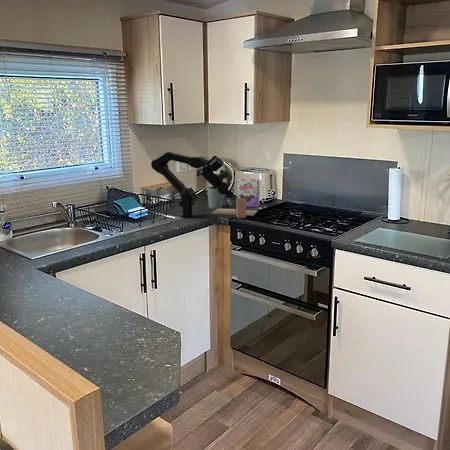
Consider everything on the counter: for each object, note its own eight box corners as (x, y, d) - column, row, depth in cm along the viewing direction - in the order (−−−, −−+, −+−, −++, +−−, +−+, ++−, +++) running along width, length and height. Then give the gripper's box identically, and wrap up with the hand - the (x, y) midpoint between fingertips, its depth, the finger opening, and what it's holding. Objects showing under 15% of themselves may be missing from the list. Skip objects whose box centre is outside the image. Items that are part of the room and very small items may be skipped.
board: (253, 215, 265) (253, 214, 265) (212, 213, 271) (212, 212, 271) (257, 211, 277) (257, 210, 277) (217, 209, 283) (217, 208, 283)
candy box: (235, 206, 292) (235, 179, 288) (238, 204, 298) (238, 178, 294) (257, 207, 288) (257, 180, 285) (259, 205, 294) (260, 179, 290)
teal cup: (207, 205, 295) (207, 186, 292) (224, 205, 295) (223, 186, 292) (207, 208, 285) (207, 188, 282) (224, 208, 285) (224, 188, 283)
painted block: (246, 217, 261) (246, 199, 259) (238, 217, 260) (238, 199, 258) (244, 215, 265) (244, 198, 263) (236, 216, 264) (236, 198, 262)
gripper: (223, 167, 245) (244, 187, 249) (217, 163, 263) (237, 182, 267) (209, 183, 245) (230, 203, 250) (203, 178, 263) (223, 197, 268)
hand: (230, 195), depth 259 cm, fingers open, 9 cm apart
